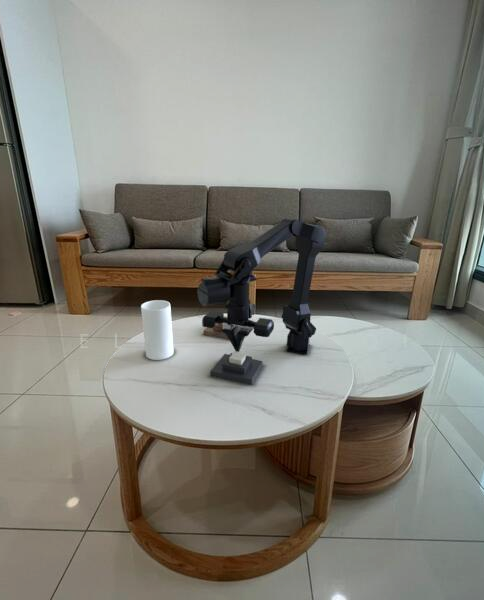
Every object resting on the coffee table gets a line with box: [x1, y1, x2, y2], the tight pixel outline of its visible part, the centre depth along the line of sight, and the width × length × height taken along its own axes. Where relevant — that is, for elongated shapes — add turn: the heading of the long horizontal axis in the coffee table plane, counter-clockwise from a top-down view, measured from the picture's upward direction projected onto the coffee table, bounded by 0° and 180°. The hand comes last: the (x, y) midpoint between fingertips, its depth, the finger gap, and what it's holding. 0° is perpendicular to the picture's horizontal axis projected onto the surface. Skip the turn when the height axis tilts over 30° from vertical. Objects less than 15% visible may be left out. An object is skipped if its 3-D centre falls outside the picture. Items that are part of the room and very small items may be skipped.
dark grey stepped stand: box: [210, 352, 264, 386], centre depth 91 cm, size 12×10×4 cm
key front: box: [229, 351, 247, 365], centre depth 90 cm, size 4×4×2 cm
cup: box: [140, 299, 175, 361], centre depth 97 cm, size 8×8×16 cm
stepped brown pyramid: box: [203, 323, 240, 340], centre depth 114 cm, size 12×10×4 cm
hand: (237, 351), depth 89 cm, fingers closed
